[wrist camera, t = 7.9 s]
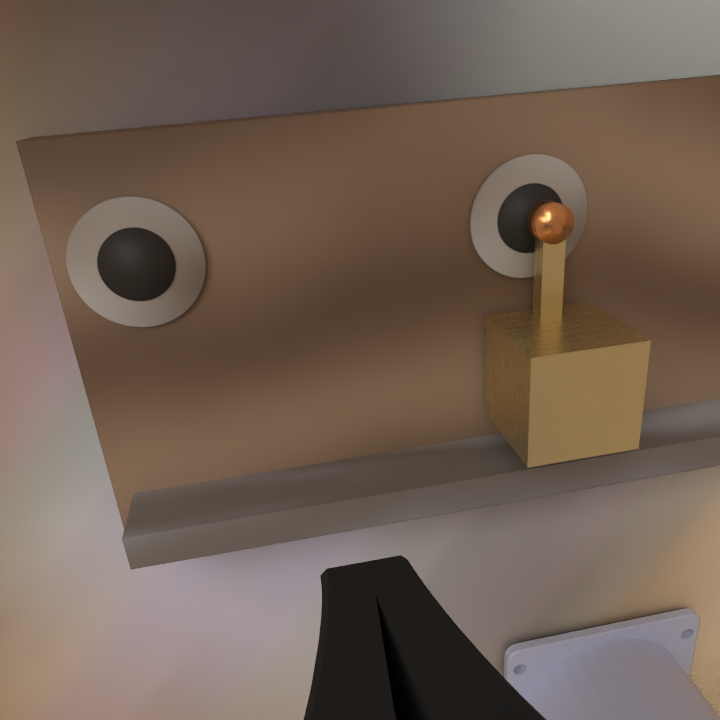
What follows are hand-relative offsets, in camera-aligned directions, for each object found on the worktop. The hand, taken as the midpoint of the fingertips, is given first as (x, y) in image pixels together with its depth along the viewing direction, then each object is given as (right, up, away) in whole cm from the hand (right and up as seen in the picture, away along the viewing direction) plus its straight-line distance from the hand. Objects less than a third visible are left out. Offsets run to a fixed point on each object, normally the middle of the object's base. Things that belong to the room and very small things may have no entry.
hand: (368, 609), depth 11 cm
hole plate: (+5, +6, +9) cm, 12 cm away
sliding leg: (+5, +5, +7) cm, 10 cm away
